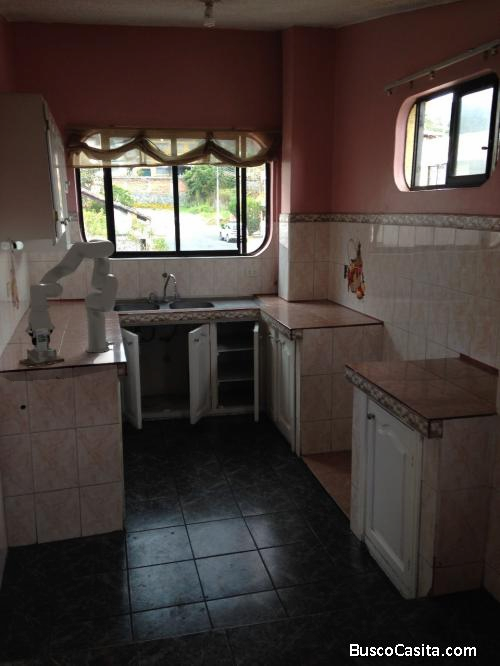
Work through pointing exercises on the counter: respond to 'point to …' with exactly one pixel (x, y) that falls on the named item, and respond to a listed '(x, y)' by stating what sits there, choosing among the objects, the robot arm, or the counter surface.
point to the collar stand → (41, 357)
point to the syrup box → (41, 340)
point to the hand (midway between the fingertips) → (41, 343)
